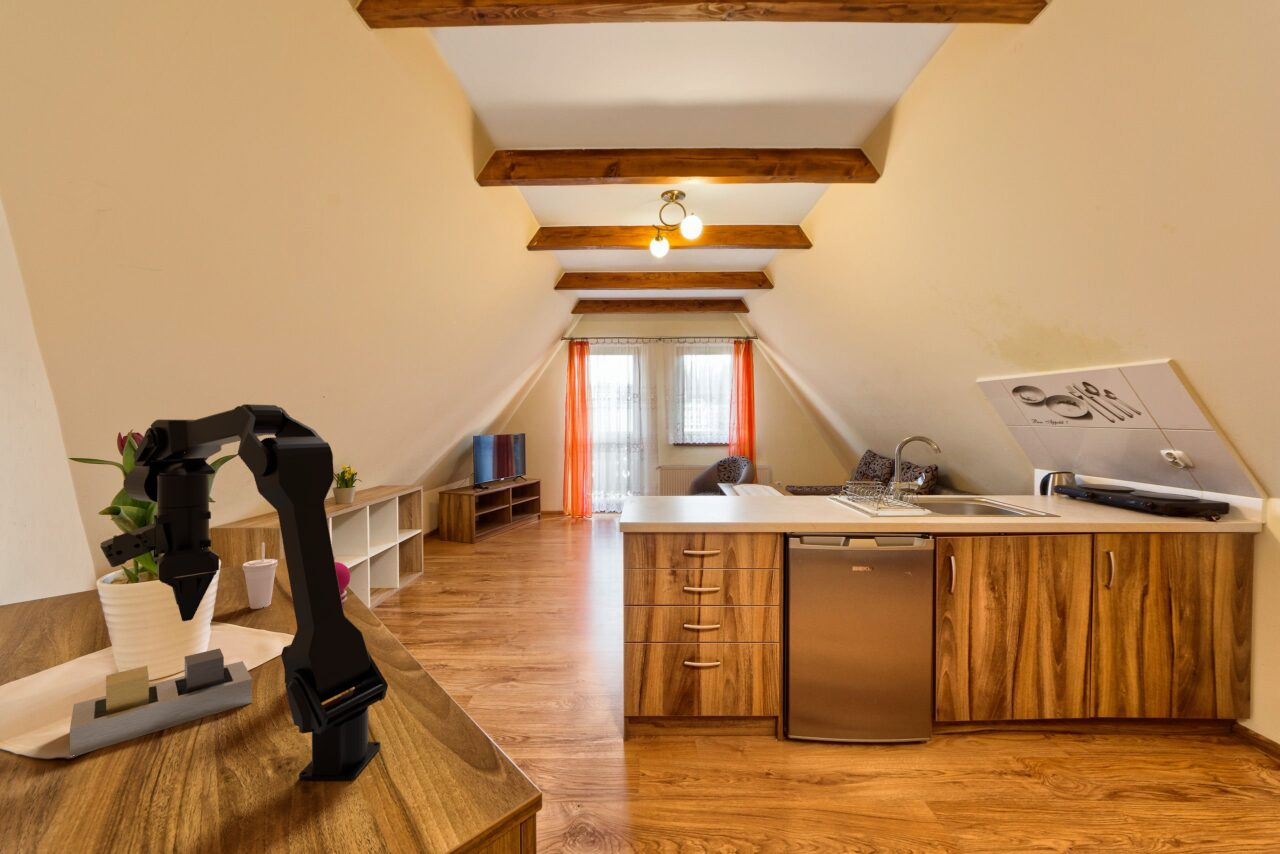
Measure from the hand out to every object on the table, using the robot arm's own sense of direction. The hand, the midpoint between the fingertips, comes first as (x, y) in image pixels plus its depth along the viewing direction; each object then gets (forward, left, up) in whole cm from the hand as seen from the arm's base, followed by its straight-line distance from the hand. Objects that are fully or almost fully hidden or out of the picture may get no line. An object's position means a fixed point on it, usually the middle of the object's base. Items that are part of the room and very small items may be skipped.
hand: (184, 612), depth 77 cm
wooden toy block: (-7, +2, -13) cm, 15 cm away
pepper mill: (+7, -17, -13) cm, 23 cm away
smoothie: (+40, +18, -13) cm, 46 cm away
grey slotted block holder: (-4, -1, -13) cm, 14 cm away
